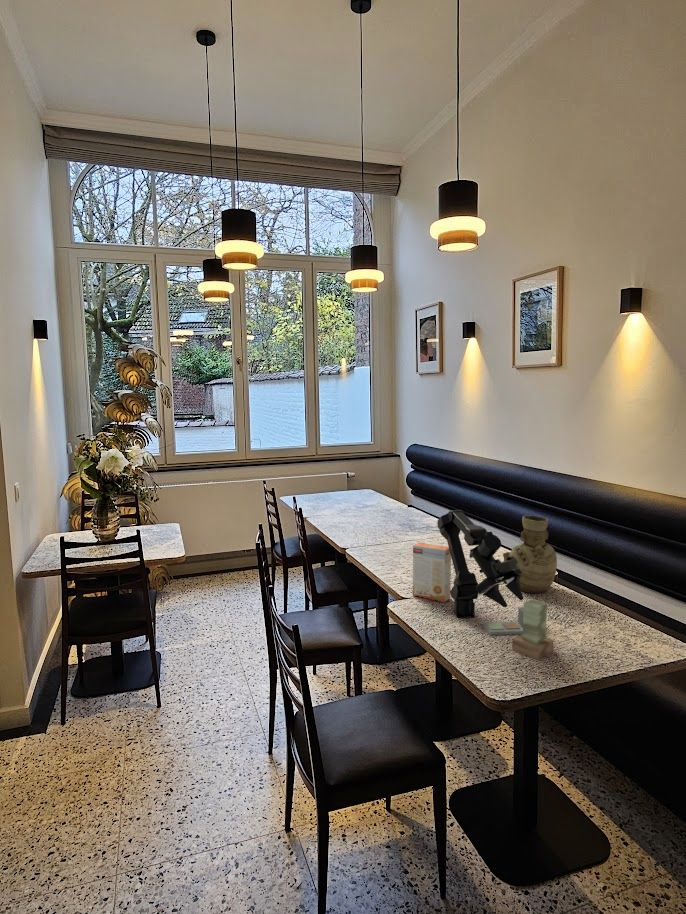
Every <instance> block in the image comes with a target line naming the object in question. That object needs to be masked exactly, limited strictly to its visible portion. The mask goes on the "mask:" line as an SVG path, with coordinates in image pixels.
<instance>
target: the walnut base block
mask: <svg viewBox="0 0 686 914" xmlns="http://www.w3.org/2000/svg"><path fill="white" fill-rule="evenodd" d="M522 636H523V634H518V635H516V636H515V637H513V638H512V640H511V642H512V643H511V644H512V645H511V646H512V647H511V650H512V651H515V652H517V653H520V654H523V655H525V656H526V657H527V656H528V657H530V658H533V659H535V660H539V659H541V658H543V657H544V656H546V655H548V654H550V653H552V652H554V644H555V643H554V642H555V640H554V639H552V638H550V637H547V636H546V641H544V642H542V643H539V644H537V645H535V644H533V643H530V642H528V641H525V640H523V639H522Z"/></svg>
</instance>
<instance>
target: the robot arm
mask: <svg viewBox="0 0 686 914" xmlns="http://www.w3.org/2000/svg"><path fill="white" fill-rule="evenodd" d="M436 525H437V528H438V529H439V533H440V534H441V536H442V537H443V538H444V539H445V540H446V541H447V545H448V546H447V547H449V550H450V554H451V563H452V565H453V569H454V573H455V577H454V580H453V586H452V588H451V589H450V598H452V599H453V600H454V601H453V602H454V604H453V605H454V606H453V608H454V609H452V612H453V614H454V615H455V617H456V618H459V619H460V618H475V609H476V607H475V606H476V603H475V602H474V600H478V597H479V595H482V596H483V597H486V598H489V599H491V600H492V601H493V602H495V603H497V604H499V605H500V606H502V607H503V608H507V607H508V604H507V602H506V600H505V598H504V597H503V595H502V592H501V591H500V588H499V587H500V584H501V583H504V584H505V587H506V588H507V589H508V590H509V591H510V592H511V593H512V594H513V595H514V596H515V597H516V598H517V599H518V600H520V601H523V600H524V596H523V593H522V592H523V591H521V588H520V585H519V580H520V577H521V574H522V572H521V571H520V569H519V568H517V566H516V565H517V564H518V561H517V560H516V559H515V558H514V557H513V556H511V557H508V558H507V561H504V560H503V561H502V562H501V559H496V558H495V557H494V555H495V554H496V553H497V552H498V550H499V549H500V548H501V547H502V541H501V539H500V538H499V537H498V536H497V535H495V534H493V531H487V529H486V528H485V527H483V526H481V525H478V524H475V523H474V522H473V521H472V520H471V519H470V518H469V517H468V516H467V515H466V514H465V513H464V510H462V509H453V510H450V511H448V512H447V513H445V514H443V515H441V516H440V517H439V518H438V519H437V521H436ZM460 532H462V533H463V536H464V537H463V540H464V541H465V543H466V544H467V546H471V547H472V546H475V547H473V548H471V549H470V550H469V558H470V559H472V558H473V559H474V561H475V562H476V564H477V565H478V567H479V568H480V570H478V572H479V573H480V574H482V573H483V574H484V576H485V577H486V578H484V579H483V580H482V581H480V582H478V581H477V578H476V577H477V576H476V574H475V573H474V572H470V570H469V568H468V567H469V566H468V563H467V560H466V557H465V553H464V549H463V546H462V542H461V538H460V534H461V533H460Z"/></svg>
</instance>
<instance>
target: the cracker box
mask: <svg viewBox="0 0 686 914" xmlns="http://www.w3.org/2000/svg"><path fill="white" fill-rule="evenodd" d="M451 570H452V558H451V554H450V550H449V546H445V545H444V546H443V545H439V544H432V543H431V544H430V543H425V542H417V543H416V544H413V545H412V596H413V597H416V596H419V597H418V598H421V597H424V598H423V599H426V598H429V599H428V600H431V599H433V600H432V601H435V600H438V601H437V602H440V601H441V602H440V603H446V602H447V601H448V600H450V599H451V593H450V591H451V589H452V588H451V586H452V585H451V584H452V583H451V582H452V581H451V580H452V578H451V576H452V575H451V574H452V573H451V572H452V571H451Z"/></svg>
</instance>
